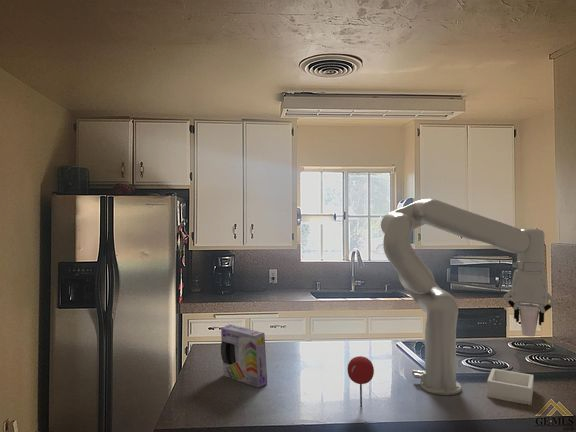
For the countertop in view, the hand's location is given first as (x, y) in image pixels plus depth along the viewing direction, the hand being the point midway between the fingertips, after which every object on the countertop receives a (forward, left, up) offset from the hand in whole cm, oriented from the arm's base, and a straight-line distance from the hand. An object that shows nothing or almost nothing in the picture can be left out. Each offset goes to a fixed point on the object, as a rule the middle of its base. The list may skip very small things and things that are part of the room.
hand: (528, 322), depth 146 cm
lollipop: (-41, -41, -21) cm, 62 cm away
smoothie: (0, 0, -4) cm, 4 cm away
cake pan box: (-84, -41, -21) cm, 96 cm away
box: (-4, -9, -21) cm, 23 cm away
